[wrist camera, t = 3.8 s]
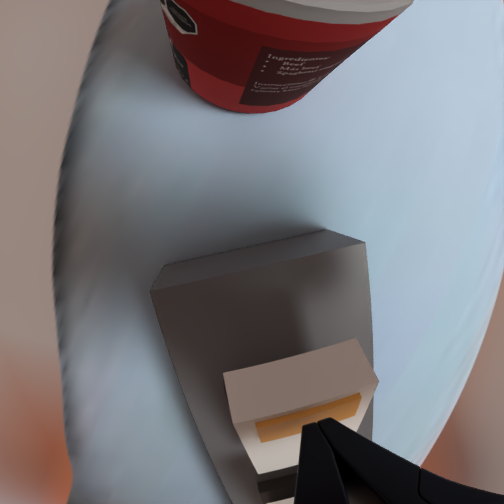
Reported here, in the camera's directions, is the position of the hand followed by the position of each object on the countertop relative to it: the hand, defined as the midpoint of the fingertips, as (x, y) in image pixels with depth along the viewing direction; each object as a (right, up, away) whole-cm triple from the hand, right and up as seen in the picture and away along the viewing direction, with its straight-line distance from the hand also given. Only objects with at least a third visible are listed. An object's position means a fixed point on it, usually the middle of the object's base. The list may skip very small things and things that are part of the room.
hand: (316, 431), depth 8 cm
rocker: (0, -1, +4) cm, 4 cm away
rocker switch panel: (+1, -9, +12) cm, 15 cm away
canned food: (-2, +16, +7) cm, 17 cm away
